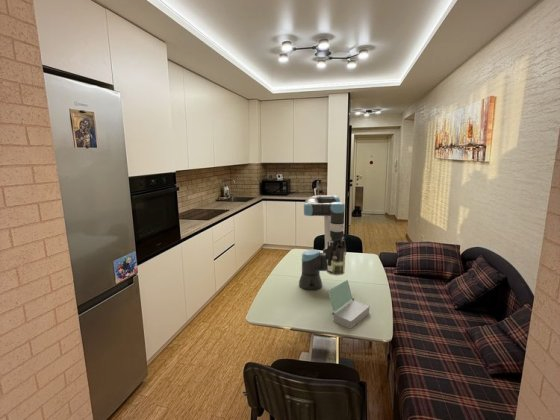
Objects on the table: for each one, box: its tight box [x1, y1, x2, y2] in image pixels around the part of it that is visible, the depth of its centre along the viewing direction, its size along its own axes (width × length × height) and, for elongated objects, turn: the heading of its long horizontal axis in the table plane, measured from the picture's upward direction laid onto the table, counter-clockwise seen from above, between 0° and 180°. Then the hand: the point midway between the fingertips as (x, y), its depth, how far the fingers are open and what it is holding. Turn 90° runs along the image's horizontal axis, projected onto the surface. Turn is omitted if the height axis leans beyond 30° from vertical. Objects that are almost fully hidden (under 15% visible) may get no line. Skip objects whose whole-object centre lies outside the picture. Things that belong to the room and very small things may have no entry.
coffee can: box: [326, 247, 347, 276], centre depth 172 cm, size 10×10×14 cm
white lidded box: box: [331, 297, 370, 329], centre depth 161 cm, size 10×21×5 cm, turn 138°
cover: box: [327, 279, 353, 312], centre depth 164 cm, size 11×19×1 cm
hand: (335, 268), depth 173 cm, fingers closed on coffee can, 10 cm apart
